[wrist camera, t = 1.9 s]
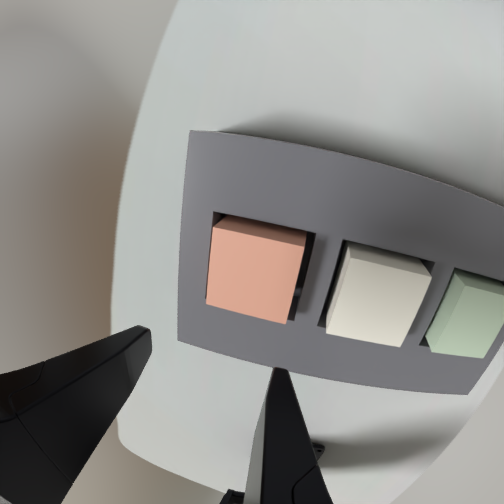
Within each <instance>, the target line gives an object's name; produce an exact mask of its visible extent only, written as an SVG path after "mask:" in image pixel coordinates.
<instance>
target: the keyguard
mask: <svg viewBox="0 0 504 504" xmlns="http://www.w3.org/2000/svg"><path fill="white" fill-rule="evenodd" d="M228 214H230V215H235V216H240V217H245V218H250V219H255V220H259V221H264V222H269V223H274V224H278V225H283V226H287V227H292V228H297V229H301V230H306V231H307V236H306V242H305V247H304V252H303V256H302V260H301V265H300V269H299V273H298V277H297V281H296V285H295V290H294V294H293V298H292V302H291V305H290V309H289V313H288V317H287V321H286V324H282V323H278V322H274V321H269V320H265V319H261V318H257V317H253V316H249V315H245V314H242V313H238V312H234V311H230V310H226V309H223V308H219V307H215V306H212V305H208V304H206V297H207V285H208V273H209V262H210V252H211V242H212V232H213V227H214V226H215V225H216V224H217V223H219V222H220V221H221V220H222V219H223V218H225V217H226V216H227V215H228ZM346 240H349V241H353V242H357V243H362V244H366V245H370V246H374V247H378V248H382V249H386V250H390V251H394V252H398V253H402V254H406V255H410V256H414V257H418V258H419V259H420V261H421V262H422V263H423V265H424V266H425V268H426V269H427V271H428V272H429V273H430V275H431V276H432V279H431V281H430V284H429V286H428V289H427V291H426V293H425V296H424V298H423V300H422V303H421V305H420V307H419V309H418V312H417V314H416V316H415V318H414V320H413V322H412V324H411V327H410V329H409V331H408V333H407V335H406V337H405V339H404V341H403V343H402V345H401V346H400V347H396V346H390V345H384V344H378V343H373V342H367V341H362V340H357V339H352V338H346V337H341V336H337V335H332V334H327V333H326V316H327V304H328V301H329V297H330V294H331V291H332V288H333V284H334V281H335V278H336V274H337V271H338V268H339V264H340V261H341V257H342V253H343V250H344V246H345V242H346ZM454 267H455V268H459V269H462V270H466V271H469V272H473V273H477V274H480V275H484V276H487V277H490V278H494V279H497V280H499V281H500V282H501V283H502V284H503V285H504V207H503V206H501V205H499V204H496V203H494V202H492V201H489V200H487V199H485V198H482V197H480V196H477V195H475V194H472V193H470V192H467V191H465V190H462V189H459V188H457V187H454V186H451V185H448V184H446V183H443V182H440V181H437V180H434V179H431V178H428V177H425V176H422V175H419V174H416V173H413V172H410V171H407V170H403V169H400V168H397V167H393V166H390V165H386V164H383V163H379V162H375V161H372V160H368V159H364V158H360V157H356V156H352V155H348V154H344V153H340V152H335V151H331V150H326V149H322V148H317V147H312V146H307V145H302V144H297V143H291V142H286V141H280V140H274V139H268V138H262V137H255V136H248V135H241V134H233V133H225V132H216V131H194V130H190V133H189V141H188V150H187V159H186V169H185V179H184V191H183V203H182V216H181V232H180V250H179V274H178V341H181V342H184V343H187V344H190V345H194V346H197V347H200V348H203V349H206V350H210V351H213V352H216V353H220V354H223V355H227V356H230V357H234V358H237V359H241V360H245V361H249V362H252V363H256V364H260V365H264V366H268V367H272V368H274V367H280V368H284V369H287V370H288V371H290V372H294V373H299V374H304V375H308V376H313V377H318V378H324V379H329V380H334V381H340V382H346V383H352V384H358V385H365V386H372V387H379V388H387V389H395V390H404V391H414V392H425V393H439V394H457V395H468V394H469V392H470V391H471V390H472V388H473V387H474V386H475V384H476V383H477V381H478V380H479V379H480V377H481V376H482V374H483V373H484V371H485V370H486V368H487V367H488V365H489V364H490V362H491V361H492V359H493V358H494V356H495V355H496V353H497V351H498V350H499V348H500V346H501V345H502V343H503V341H504V324H503V325H502V327H501V329H500V331H499V333H498V335H497V336H496V338H495V340H494V342H493V343H492V345H491V347H490V348H489V350H488V352H487V353H486V355H485V356H484V358H474V357H466V356H457V355H449V354H442V353H435V352H431V349H430V346H429V344H428V341H427V339H426V336H425V332H426V330H427V328H428V326H429V324H430V322H431V320H432V318H433V316H434V314H435V312H436V310H437V307H438V305H439V303H440V301H441V299H442V296H443V294H444V292H445V289H446V287H447V285H448V282H449V280H450V277H451V275H452V272H453V270H454Z"/></svg>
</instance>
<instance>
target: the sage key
mask: <svg viewBox="0 0 504 504" xmlns="http://www.w3.org/2000/svg"><path fill="white" fill-rule="evenodd" d="M503 324H504V285H503V284H502V283H501V282H500V281H499V280H497V279H494V278H490V277H487V276H484V275H480V274H477V273H473V272H469V271H466V270H462V269H459V268H455V267H454V270H453V272H452V275H451V277H450V280H449V282H448V285H447V287H446V289H445V292H444V294H443V296H442V299H441V301H440V303H439V305H438V307H437V310H436V312H435V314H434V316H433V318H432V320H431V322H430V324H429V326H428V328H427V330H426V332H425V336H426V339H427V341H428V344H429V346H430V349H431V352H435V353H442V354H449V355H457V356H466V357H474V358H484V356H485V355H486V353H487V352H488V350H489V348H490V347H491V345H492V343H493V342H494V340H495V338H496V336H497V335H498V333H499V331H500V329H501V327H502V325H503Z"/></svg>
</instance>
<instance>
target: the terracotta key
mask: <svg viewBox="0 0 504 504" xmlns="http://www.w3.org/2000/svg"><path fill="white" fill-rule="evenodd" d="M306 236H307V231H306V230H301V229H297V228H292V227H287V226H283V225H278V224H274V223H269V222H264V221H259V220H255V219H250V218H245V217H240V216H235V215H230V214H228V215H227V216H226V217H225V218H223V219H222V220H221V221H220V222H219V223H217V224H216V225H215V226H214V227H213V232H212V242H211V252H210V262H209V273H208V285H207V297H206V304H208V305H212V306H215V307H219V308H223V309H226V310H230V311H234V312H238V313H242V314H245V315H249V316H253V317H257V318H261V319H265V320H269V321H274V322H278V323H282V324H286V321H287V317H288V313H289V309H290V305H291V302H292V298H293V294H294V290H295V285H296V281H297V277H298V273H299V269H300V265H301V260H302V256H303V252H304V247H305V242H306Z"/></svg>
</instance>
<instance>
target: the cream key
mask: <svg viewBox="0 0 504 504" xmlns="http://www.w3.org/2000/svg"><path fill="white" fill-rule="evenodd" d="M431 279H432V276H431V275H430V273H429V272H428V271H427V269H426V268H425V266H424V265H423V263H422V262H421V261H420V259H419V258H418V257H414V256H410V255H406V254H402V253H398V252H394V251H390V250H386V249H382V248H378V247H374V246H370V245H366V244H362V243H357V242H353V241H349V240H346V242H345V246H344V250H343V253H342V257H341V261H340V264H339V268H338V271H337V274H336V278H335V281H334V284H333V288H332V291H331V294H330V297H329V301H328V304H327V316H326V333H327V334H332V335H337V336H341V337H346V338H352V339H357V340H362V341H367V342H373V343H378V344H384V345H390V346H396V347H400V346H401V345H402V343H403V341H404V339H405V337H406V335H407V333H408V331H409V329H410V327H411V324H412V322H413V320H414V318H415V316H416V314H417V312H418V309H419V307H420V305H421V303H422V300H423V298H424V296H425V293H426V291H427V289H428V286H429V284H430V281H431Z"/></svg>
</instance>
